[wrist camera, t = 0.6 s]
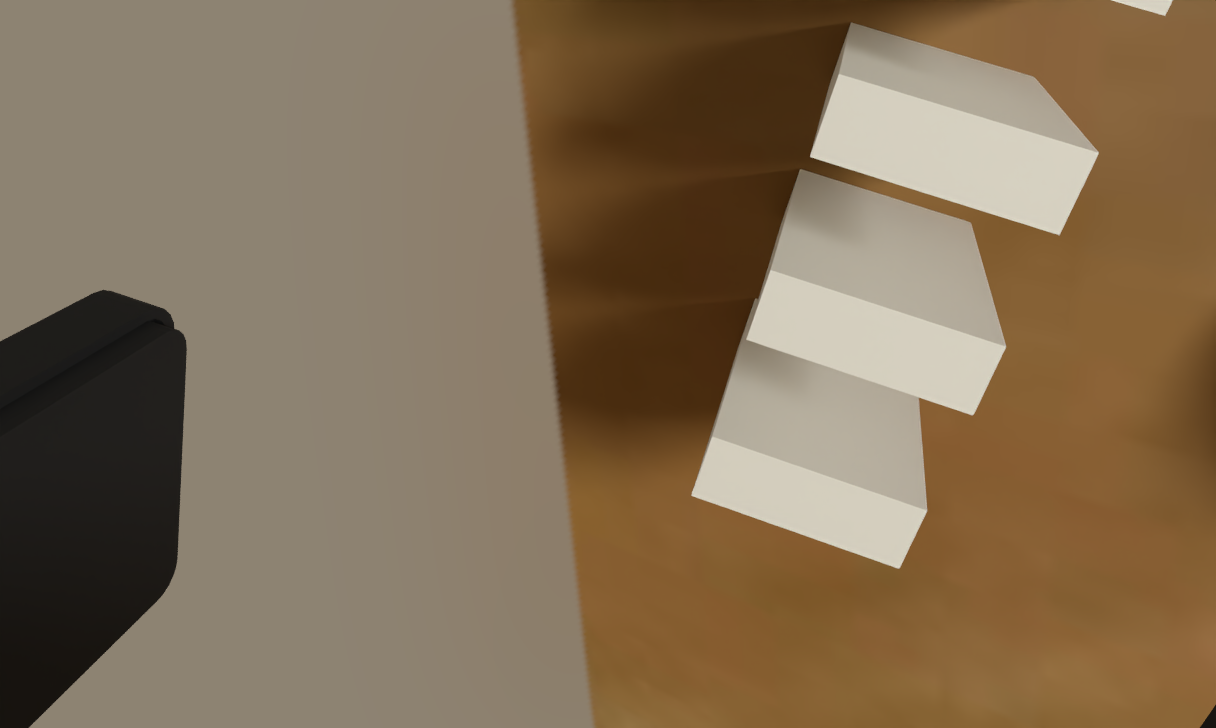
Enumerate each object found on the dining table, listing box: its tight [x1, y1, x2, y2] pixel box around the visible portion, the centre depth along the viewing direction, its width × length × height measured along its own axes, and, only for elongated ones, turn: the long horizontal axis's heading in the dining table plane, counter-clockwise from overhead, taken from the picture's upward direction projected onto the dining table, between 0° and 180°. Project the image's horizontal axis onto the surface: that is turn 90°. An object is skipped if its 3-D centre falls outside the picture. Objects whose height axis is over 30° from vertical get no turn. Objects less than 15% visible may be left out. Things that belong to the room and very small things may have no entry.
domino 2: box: [746, 169, 1006, 415], centre depth 31 cm, size 2×6×11 cm, turn 75°
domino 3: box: [691, 298, 927, 569], centre depth 33 cm, size 2×6×11 cm, turn 76°
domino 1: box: [810, 22, 1099, 235], centre depth 29 cm, size 2×6×11 cm, turn 75°
